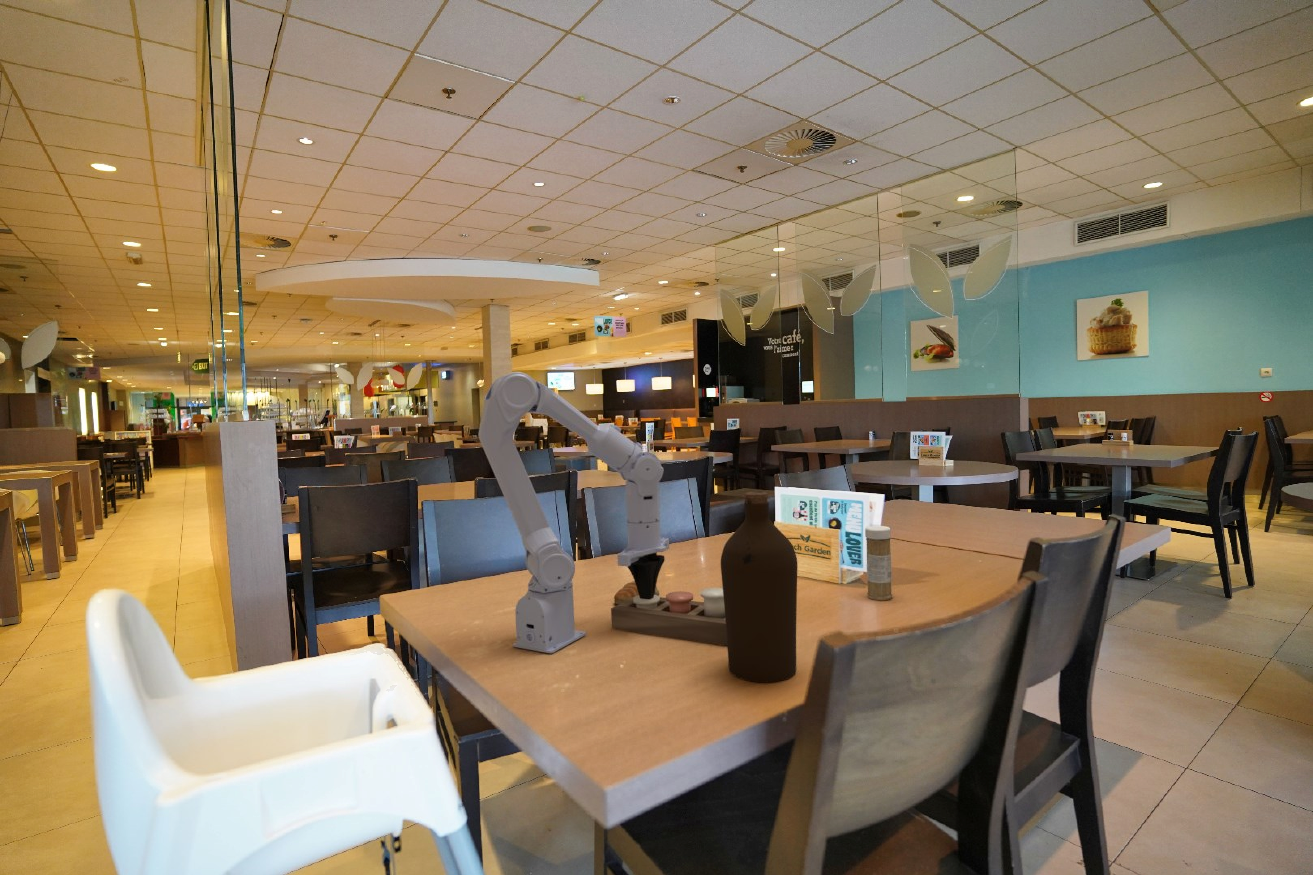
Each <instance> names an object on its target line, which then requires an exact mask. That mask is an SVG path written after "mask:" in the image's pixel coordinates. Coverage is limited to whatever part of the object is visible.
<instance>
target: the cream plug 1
mask: <svg viewBox="0 0 1313 875" xmlns="http://www.w3.org/2000/svg"><path fill="white" fill-rule="evenodd" d="M660 597H661V596H659V595H654V598H652V599H650V600H649V599H641V598H640V597H639V595H638V596H635V597H634V598H633V602H634V603H635V604H636V606H637V608H643V609H651V610H653V609H654V608H656V607H657V603H659V602H660Z"/></svg>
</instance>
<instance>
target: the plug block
mask: <svg viewBox="0 0 1313 875" xmlns="http://www.w3.org/2000/svg"><path fill="white" fill-rule="evenodd" d="M636 596H638V595H636ZM634 597H635V596H634ZM634 597H632V598H630V599H628V600H626V601H624V602H622V603H621V604H617V605H615V606H612V607H611V608H610V616H611V618H610V619H611V621H610V622H611V629H613V630H617V631H624V632H625V631H627V632H633V633H639V634H646V635H654V636H659V637H666V638H671V639H678V640H679V639H680V640H685V641H686V640H687V641H691V642H692V641H693V642H698V643H699V642H700V643H705V644H711V645H719V646H725V647H726V646H727V632H726V620H725V617H724V618H713V617H705V616H704V601H703V602H701V601H695V600H691V601H690V602H691V612H689V613H688V614H682V613H674V612H670V610H669V601H667V600H666V597H662V596H659V597H660V602H659V603H657V607H656V608H654V609H653V610H651V609H643V608H637V606H636V604H635V603H634V602H633V598H634Z"/></svg>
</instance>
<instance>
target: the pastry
mask: <svg viewBox="0 0 1313 875" xmlns="http://www.w3.org/2000/svg"><path fill="white" fill-rule="evenodd" d="M636 595H639V593H638V590H637V587H636V583H635V580H633V581H630V582H627V583H625V584H624V586H623V587H621V588H620V589H618V591H617V592H616V593H615V594H614V596H613V599H614V604H617V605H619V604H621V603H622V602H624V601H626V600H628V599H630V598H632V597H634V596H636ZM654 595H658V596H659V595H660V590H659V588H658V587H657V585H656V588H655V593H654Z"/></svg>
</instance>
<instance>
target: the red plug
mask: <svg viewBox="0 0 1313 875" xmlns="http://www.w3.org/2000/svg"><path fill="white" fill-rule="evenodd" d="M665 598H666V600H667V601H669V610H670V612H674V613H682V614H688V613H689V612H691V602H690V601H694V594H693V593H692V592H688V591H673V592H672V591H671V592H669V593H667V594H665Z"/></svg>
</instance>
